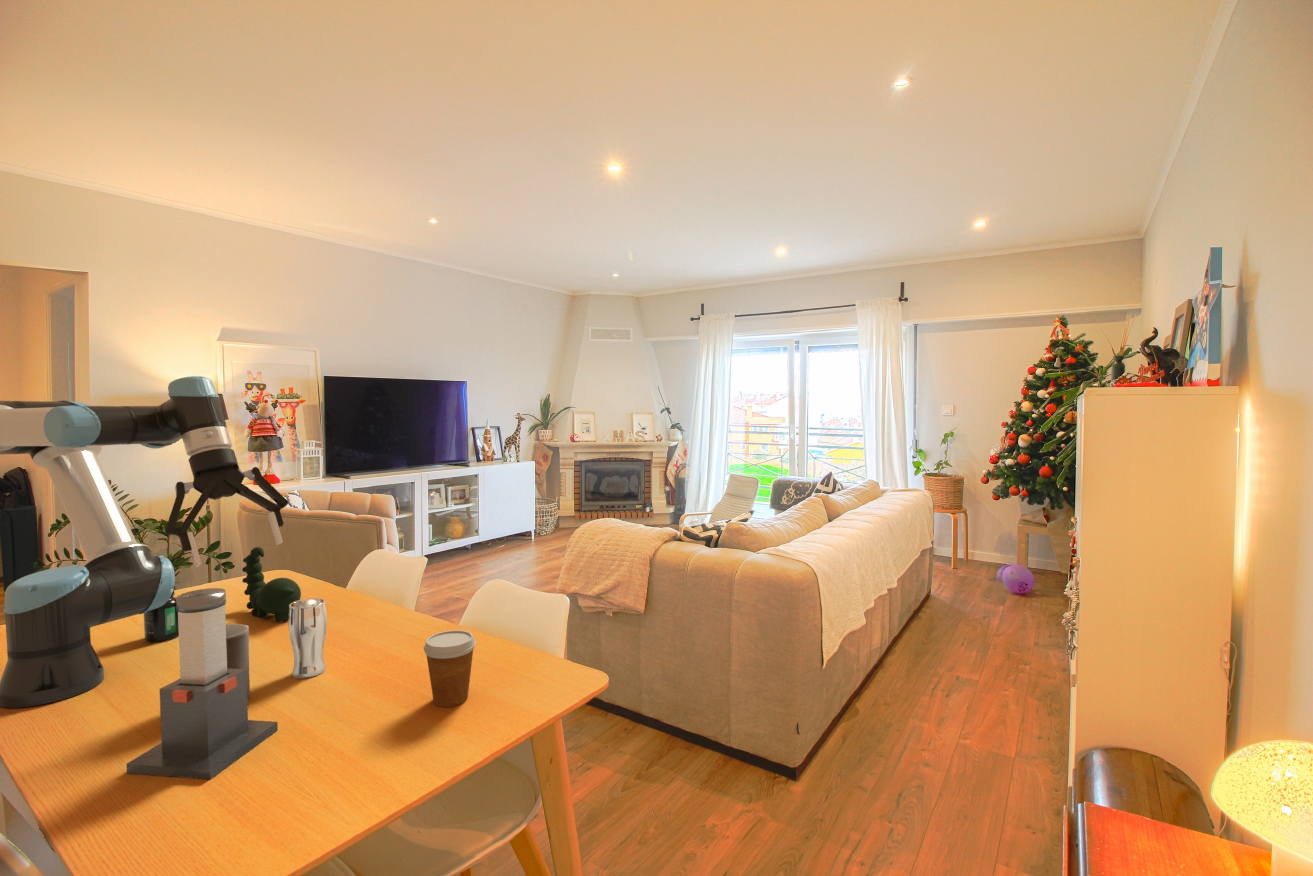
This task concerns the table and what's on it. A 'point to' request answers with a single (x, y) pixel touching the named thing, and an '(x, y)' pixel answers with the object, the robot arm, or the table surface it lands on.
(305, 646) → the beer glass
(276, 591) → the toy figurine
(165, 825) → the table surface
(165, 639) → the supplement bottle
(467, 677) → the disposable coffee cup
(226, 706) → the jack stand
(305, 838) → the table surface
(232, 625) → the pillar candle
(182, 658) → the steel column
